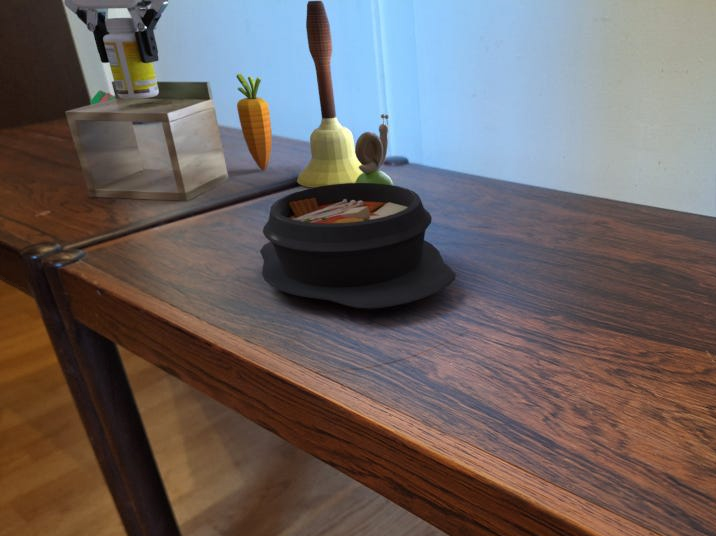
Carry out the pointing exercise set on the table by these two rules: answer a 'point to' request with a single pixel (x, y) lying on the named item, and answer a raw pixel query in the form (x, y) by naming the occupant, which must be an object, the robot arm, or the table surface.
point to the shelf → (121, 153)
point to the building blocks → (102, 97)
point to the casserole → (353, 246)
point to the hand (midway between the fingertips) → (130, 60)
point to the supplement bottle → (128, 61)
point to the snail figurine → (373, 155)
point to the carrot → (255, 122)
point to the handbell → (327, 114)
